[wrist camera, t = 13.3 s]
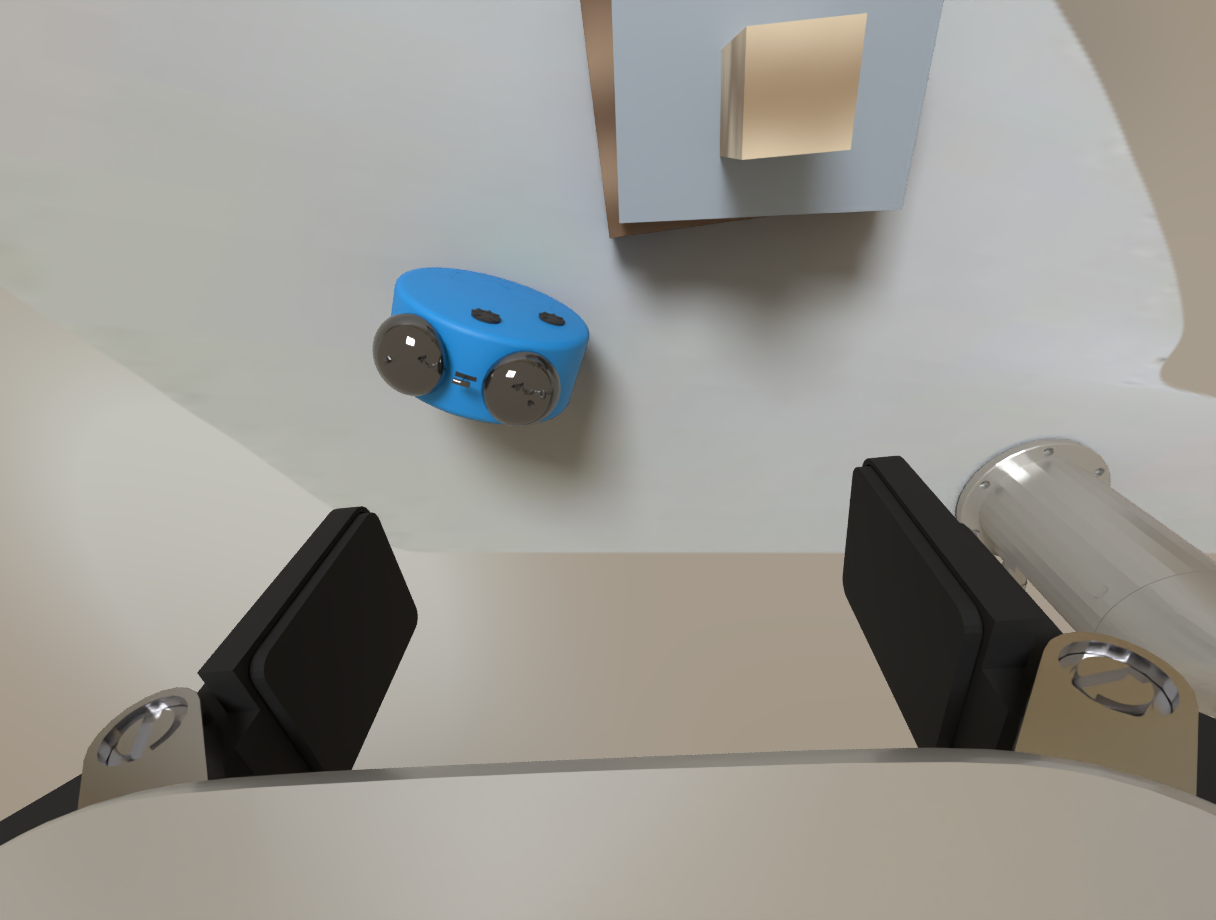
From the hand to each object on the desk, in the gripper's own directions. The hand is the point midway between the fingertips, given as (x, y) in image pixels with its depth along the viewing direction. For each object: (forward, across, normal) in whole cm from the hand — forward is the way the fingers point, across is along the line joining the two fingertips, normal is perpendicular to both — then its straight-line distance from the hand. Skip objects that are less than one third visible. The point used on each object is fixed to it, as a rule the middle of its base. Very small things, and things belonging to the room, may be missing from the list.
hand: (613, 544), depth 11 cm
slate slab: (+32, -9, -8) cm, 34 cm away
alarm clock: (+35, +10, +4) cm, 37 cm away
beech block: (+28, -9, -8) cm, 30 cm away
